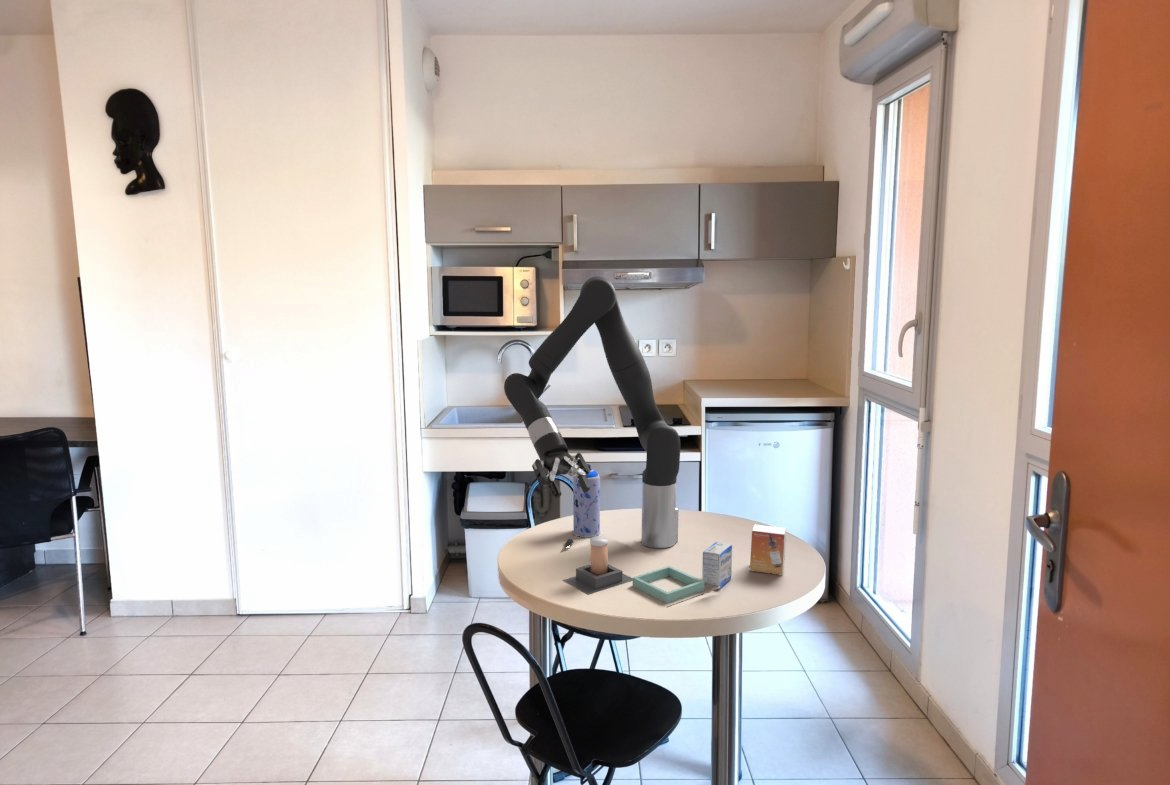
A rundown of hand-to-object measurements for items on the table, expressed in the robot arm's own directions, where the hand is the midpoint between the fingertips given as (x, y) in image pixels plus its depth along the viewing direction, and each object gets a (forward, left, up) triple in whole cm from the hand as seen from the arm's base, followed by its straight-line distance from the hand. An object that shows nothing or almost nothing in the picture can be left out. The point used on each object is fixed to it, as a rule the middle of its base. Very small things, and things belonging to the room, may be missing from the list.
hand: (573, 493), depth 176 cm
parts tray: (-10, +23, -20) cm, 32 cm away
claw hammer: (-4, -9, -20) cm, 23 cm away
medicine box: (-23, +26, -20) cm, 40 cm away
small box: (-39, +28, -20) cm, 52 cm away
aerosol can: (-19, -20, -20) cm, 34 cm away
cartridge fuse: (0, +10, -19) cm, 21 cm away
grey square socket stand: (0, +10, -20) cm, 22 cm away
